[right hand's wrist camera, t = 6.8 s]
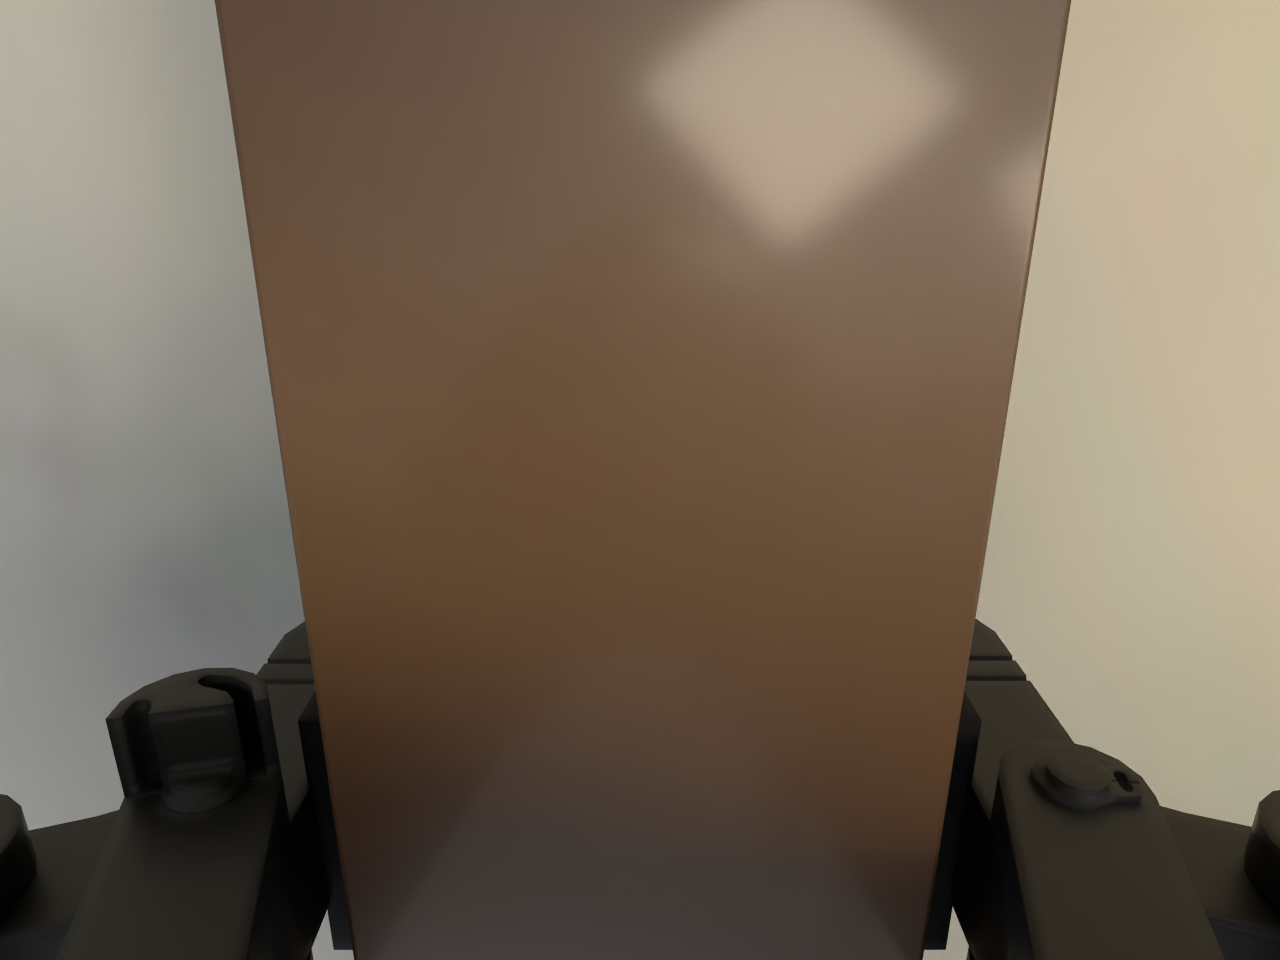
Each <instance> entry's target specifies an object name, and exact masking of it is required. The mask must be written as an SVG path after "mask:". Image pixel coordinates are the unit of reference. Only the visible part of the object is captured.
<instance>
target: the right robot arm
mask: <svg viewBox="0 0 1280 960" xmlns="http://www.w3.org/2000/svg"><path fill="white" fill-rule="evenodd" d="M106 723H107V727H108V731H109V735H110V739H111V743H112V747H113V752H114V756H115V760H116V764H117V768H118V772H119V776H120V780H121V784H122V788H123V792H124V796H125V798H124V800H123V802H122V805H121V807H120V810H118V811H114V812H111V813H107V814H103V815H100V816H96V817H92V818H87V819H82V820H77V821H73V822H68V823H63V824H59V825H54V826H49V827H44V828H40V829H35V830H30V831H28V828H27V824H26V821H25V818H24V814H23V811H22V808H21V806H20V805H19V804H18V803H16V802H15V801H14V800H13V799H11V798H10V797H9V796H8V795H2V794H0V960H313V954H312V946H313V943H314V941H315V938H316V936H317V933H318V931H319V928H320V926H321V923H322V921H323V918H324V916H325V913H326V911H327V909H328V916H329V922H330V928H331V935H332V941H333V947H334V950H353V947H352V940H351V933H350V926H349V920H348V913H347V906H346V899H345V892H344V885H343V878H342V871H341V864H340V858H339V851H338V844H337V837H336V830H335V823H334V816H333V809H332V803H331V796H330V789H329V782H328V775H327V768H326V761H325V754H324V748H323V741H322V734H321V727H320V720H319V713H318V706H317V699H316V692H315V686H314V679H313V672H312V665H311V658H310V651H309V644H308V637H307V631H306V624H305V622H303V623H302V624H300V625H299V626H297V627H296V628H294V629H293V630H291V631H290V632H288V633H287V634H285V635H284V637H283V638H282V640H281V641H280V643H279V644H278V645H277V647H276V648H275V650H274V651H273V652H272V654H271V655H270V657H269V658H268V664H264V665H263V667H262V668H261V669H260V671H259V672H258V674H257V675H255V674H254V673H251V672H247V671H243V670H238V669H234V668H203V669H199V670H194V671H189V672H184V673H179V674H175V675H172V676H169V677H167V678H164V679H161V680H159V681H156V682H154V683H151V684H149V685H146V686H144V687H142V688H141V689H139V690H138V691H136V692H135V693H133V694H132V695H130V696H128V697H127V698H125V699H124V700H122V701H121V702H120V703H119V704H118V705H117V706H116V707H115V709H114V710H113V711H112V712H111V713H110V714H109V716H108V717H107V718H106ZM952 906H953V908H954V910H955V913H956V915H957V918H958V920H959V922H960V925H961V927H962V930H963V932H964V935H965V937H966V940H967V942H968V945H969V948H968V954H967V960H1280V790H1278V791H1273V792H1271V793H1270V794H1269V795H1268V796H1267V797H1265V798H1264V799H1263V800H1262V801H1260V802H1259V805H1258V809H1257V812H1256V815H1255V819H1254V822H1253V825H1252V827H1250V826H1245V825H1240V824H1235V823H1231V822H1226V821H1221V820H1216V819H1212V818H1207V817H1202V816H1197V815H1193V814H1188V813H1183V812H1180V811H1176V810H1173V809H1169V808H1165V807H1162V806H1159V803H1158V801H1157V799H1156V796H1155V795H1154V793H1153V792H1152V791H1151V789H1150V788H1149V786H1148V785H1147V784H1146V782H1145V781H1144V780H1143V778H1142V777H1141V776H1140V775H1138V774H1137V773H1136V772H1134V771H1133V770H1132V769H1130V768H1129V767H1128V766H1126V765H1125V764H1123V763H1122V762H1121V761H1119V760H1118V759H1115V758H1113V757H1111V756H1109V755H1106V754H1104V753H1102V752H1100V751H1098V750H1095V749H1093V748H1091V747H1087V746H1082V745H1078V744H1074V742H1073V741H1072V739H1071V738H1070V737H1069V735H1068V734H1067V732H1066V731H1065V730H1064V728H1063V727H1062V725H1061V724H1060V722H1059V721H1058V720H1057V718H1056V717H1055V715H1054V714H1053V713H1052V711H1051V710H1050V708H1049V707H1048V706H1047V704H1046V703H1045V701H1044V700H1043V699H1042V697H1041V696H1040V694H1039V693H1038V692H1037V690H1036V689H1035V687H1034V686H1033V685H1032V683H1031V682H1030V681H1027V680H1026V675H1025V673H1024V672H1023V670H1022V669H1021V668H1020V666H1019V665H1018V663H1017V662H1016V661H1012V655H1011V654H1010V652H1009V651H1008V649H1007V648H1006V647H1005V645H1004V644H1003V642H1002V641H1001V640H1000V638H999V637H998V635H997V634H996V633H995V631H993V630H992V629H990V628H989V627H987V626H986V625H984V624H983V623H981V622H980V621H978V620H977V619H975V623H974V630H973V636H972V643H971V649H970V656H969V662H968V669H967V675H966V681H965V688H964V694H963V701H962V707H961V714H960V720H959V727H958V733H957V740H956V746H955V752H954V759H953V765H952V772H951V778H950V785H949V791H948V798H947V804H946V810H945V817H944V823H943V830H942V836H941V843H940V849H939V856H938V862H937V869H936V875H935V881H934V888H933V894H932V901H931V907H930V914H929V920H928V927H927V933H926V939H925V946H924V950H946V944H947V938H948V931H949V925H950V919H951V912H952Z"/></svg>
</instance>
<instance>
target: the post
mask: <svg viewBox="0 0 1280 960" xmlns="http://www.w3.org/2000/svg"><path fill="white" fill-rule="evenodd" d="M1070 4H1071V0H215V5H216V11H217V18H218V25H219V32H220V39H221V46H222V53H223V60H224V66H225V73H226V80H227V87H228V94H229V101H230V108H231V115H232V121H233V128H234V135H235V142H236V149H237V156H238V163H239V170H240V177H241V183H242V190H243V197H244V204H245V211H246V218H247V225H248V232H249V238H250V245H251V252H252V259H253V266H254V273H255V280H256V287H257V293H258V300H259V307H260V314H261V321H262V328H263V335H264V342H265V349H266V355H267V362H268V369H269V376H270V383H271V390H272V397H273V404H274V410H275V417H276V424H277V431H278V438H279V445H280V452H281V459H282V465H283V472H284V479H285V486H286V493H287V500H288V507H289V514H290V520H291V527H292V534H293V541H294V548H295V555H296V562H297V569H298V576H299V582H300V589H301V596H302V603H303V610H304V617H305V624H306V631H307V637H308V644H309V651H310V658H311V665H312V672H313V679H314V686H315V692H316V699H317V706H318V713H319V720H320V727H321V734H322V741H323V748H324V754H325V761H326V768H327V775H328V782H329V789H330V796H331V803H332V809H333V816H334V823H335V830H336V837H337V844H338V851H339V858H340V864H341V871H342V878H343V885H344V892H345V899H346V906H347V913H348V920H349V926H350V933H351V940H352V947H353V954H354V960H922V959H923V952H924V946H925V939H926V933H927V927H928V920H929V914H930V907H931V901H932V894H933V888H934V881H935V875H936V869H937V862H938V856H939V849H940V843H941V836H942V830H943V823H944V817H945V810H946V804H947V798H948V791H949V785H950V778H951V772H952V765H953V759H954V752H955V746H956V740H957V733H958V727H959V720H960V714H961V707H962V701H963V694H964V688H965V681H966V675H967V669H968V662H969V656H970V649H971V643H972V636H973V630H974V623H975V617H976V610H977V604H978V598H979V591H980V585H981V578H982V572H983V565H984V559H985V552H986V546H987V540H988V533H989V527H990V520H991V514H992V507H993V501H994V494H995V488H996V481H997V475H998V469H999V462H1000V456H1001V449H1002V443H1003V436H1004V430H1005V423H1006V417H1007V411H1008V404H1009V398H1010V391H1011V385H1012V378H1013V372H1014V365H1015V359H1016V352H1017V346H1018V340H1019V333H1020V327H1021V320H1022V314H1023V307H1024V301H1025V294H1026V288H1027V282H1028V275H1029V269H1030V262H1031V256H1032V249H1033V243H1034V236H1035V230H1036V223H1037V217H1038V211H1039V204H1040V198H1041V191H1042V185H1043V178H1044V172H1045V165H1046V159H1047V152H1048V146H1049V140H1050V133H1051V127H1052V120H1053V114H1054V107H1055V101H1056V94H1057V88H1058V82H1059V75H1060V69H1061V62H1062V56H1063V49H1064V43H1065V36H1066V30H1067V23H1068V17H1069V11H1070Z"/></svg>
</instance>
